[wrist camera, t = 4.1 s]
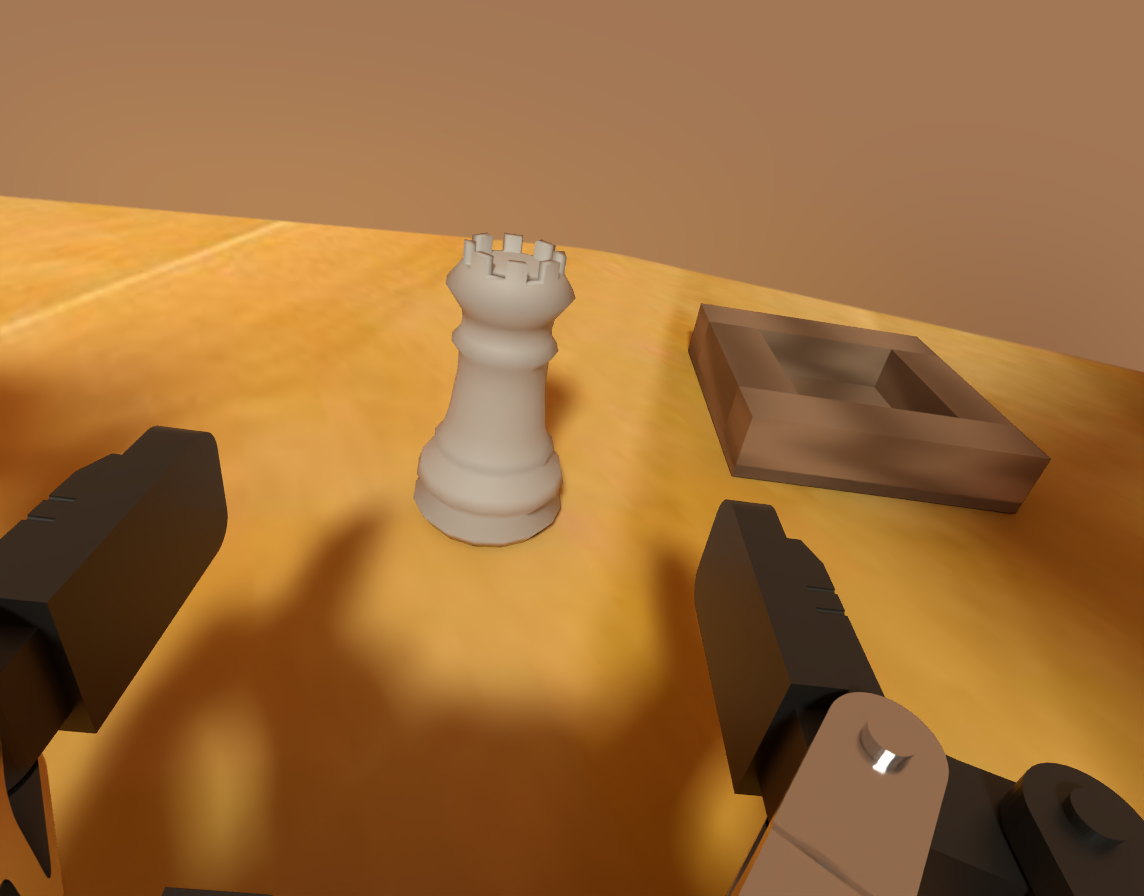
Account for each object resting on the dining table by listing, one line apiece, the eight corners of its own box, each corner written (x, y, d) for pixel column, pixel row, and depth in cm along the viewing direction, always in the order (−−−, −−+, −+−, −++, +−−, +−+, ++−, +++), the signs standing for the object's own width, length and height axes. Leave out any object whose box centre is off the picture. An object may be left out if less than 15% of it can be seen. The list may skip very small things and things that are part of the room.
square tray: (896, 381, 34) (916, 336, 33) (1015, 513, 25) (1051, 458, 24) (688, 350, 33) (701, 303, 32) (731, 475, 24) (752, 416, 23)
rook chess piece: (392, 540, 19) (397, 257, 14) (434, 454, 22) (447, 211, 18) (550, 567, 19) (601, 294, 14) (565, 477, 22) (608, 240, 18)
